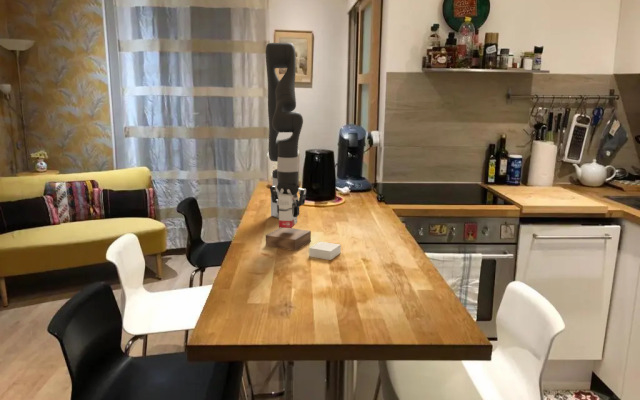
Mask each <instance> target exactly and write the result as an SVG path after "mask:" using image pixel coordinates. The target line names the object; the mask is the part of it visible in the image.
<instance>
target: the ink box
mask: <svg viewBox="0 0 640 400" xmlns="http://www.w3.org/2000/svg"><path fill="white" fill-rule="evenodd" d="M294 198H295V196H294ZM297 223H298V216H297V217H294V205H293V195H289V194H279V218H278V229H279V228H293V227H294V226H295V225H296V224H297Z"/></svg>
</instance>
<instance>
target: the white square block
mask: <svg viewBox="0 0 640 400" xmlns="http://www.w3.org/2000/svg"><path fill="white" fill-rule="evenodd" d="M341 248H342V247H341V244H338V243H331V242H325V241H318V242H317V243H314V244H313V245H311V246H310V247H308V249H309V251H308V253H309V255H308V256H309V257H310V258H317V259H322V260H327V261H332V260H333V259H334V258H336V257H337V256H338V255H340V254H341Z"/></svg>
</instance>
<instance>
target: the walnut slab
mask: <svg viewBox="0 0 640 400" xmlns="http://www.w3.org/2000/svg"><path fill="white" fill-rule="evenodd" d="M311 239H312V231H311V230H306V229H300V228H293V227H292V228H279V227H278V229H275V230H274V231H270V232H269V233H267V234H265V246H266V247H271V248H277V249H282V250H289V251H297V250H299V249H300V248H302V247H304V246H305V245H307V244H309V243H310V242H311Z"/></svg>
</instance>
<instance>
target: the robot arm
mask: <svg viewBox="0 0 640 400" xmlns="http://www.w3.org/2000/svg"><path fill="white" fill-rule="evenodd" d="M296 58H297V57H296V48H295V45H294V43H292V42H269V43H267V44H266V45H265V65H266V75H267V76H266V77H267V113H268V114H267V117H268V149H267V150H268V158H269V160H270V161H271V162H276V163H277V164H276V166H277V167H276V169H273V170H272V172H271V173H272V174H271V175H272V176H271V177H272V178H271V179H272V181H271V182H272V185H271V186H270V187H269V189H270V190H269V192H270V216H271V217H273V218H277V219H279V194H289V195H293V205H294V217H297V218H298V216H300V207H301V206H304V205H305V203H306V198H307V189H306V188H302V187H300V185H299V183H300V181H299V178H300V175H299V174H300V172H299V169H300V167H299V151H298V150H299V140H300V136H301V132H302V129H303V124H304V119H303V115H302V114H301V113H300V112H299V111H295V109H296V108H297V101H296V100H297V99H296V91H295V87H296V86H295V85H296V83H295V82H296V69H297V67H296V66H297V65H296V64H297V63H296V61H297V59H296ZM276 69H286V71H285V73H284V74H283V75H282V77H281V79H279V77H278V74H277V72H276ZM279 133H292V134H291V135H290V136H289V137H287V138H284V139H277V138H278V137H279V136H278V135H279ZM294 196H295V198H294Z"/></svg>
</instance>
